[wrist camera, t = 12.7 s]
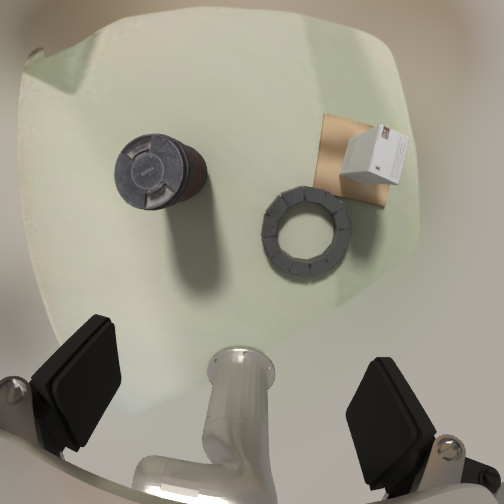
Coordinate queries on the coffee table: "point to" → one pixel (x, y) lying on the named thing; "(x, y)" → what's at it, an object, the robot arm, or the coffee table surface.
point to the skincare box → (375, 156)
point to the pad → (331, 160)
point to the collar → (315, 263)
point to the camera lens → (158, 172)
